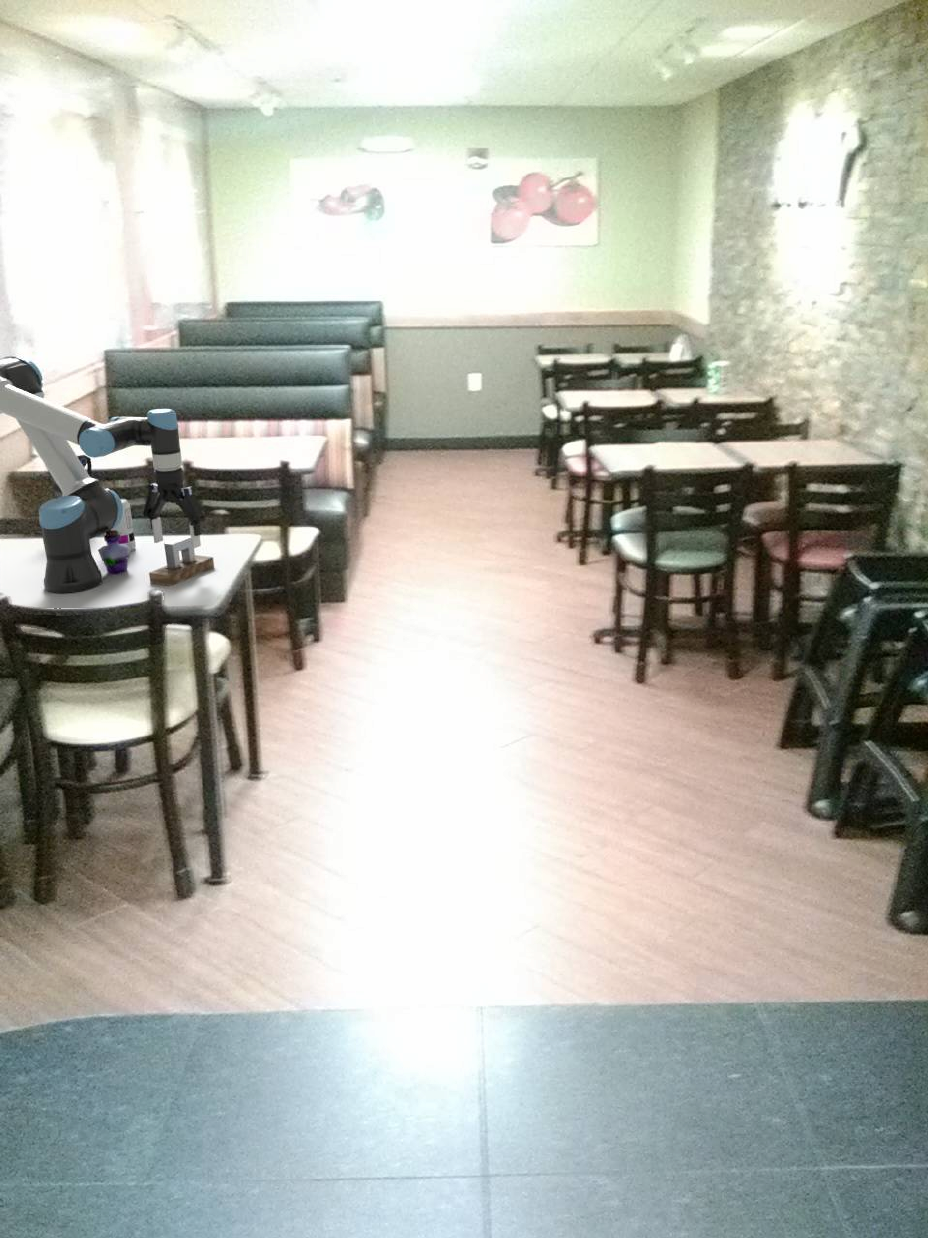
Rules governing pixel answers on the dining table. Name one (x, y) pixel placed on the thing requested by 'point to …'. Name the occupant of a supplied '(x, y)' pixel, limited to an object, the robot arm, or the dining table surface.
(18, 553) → the dining table surface
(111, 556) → the potion bottle
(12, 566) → the dining table surface
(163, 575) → the wooden socket base
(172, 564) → the clip
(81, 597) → the dining table surface
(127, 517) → the supplement can
